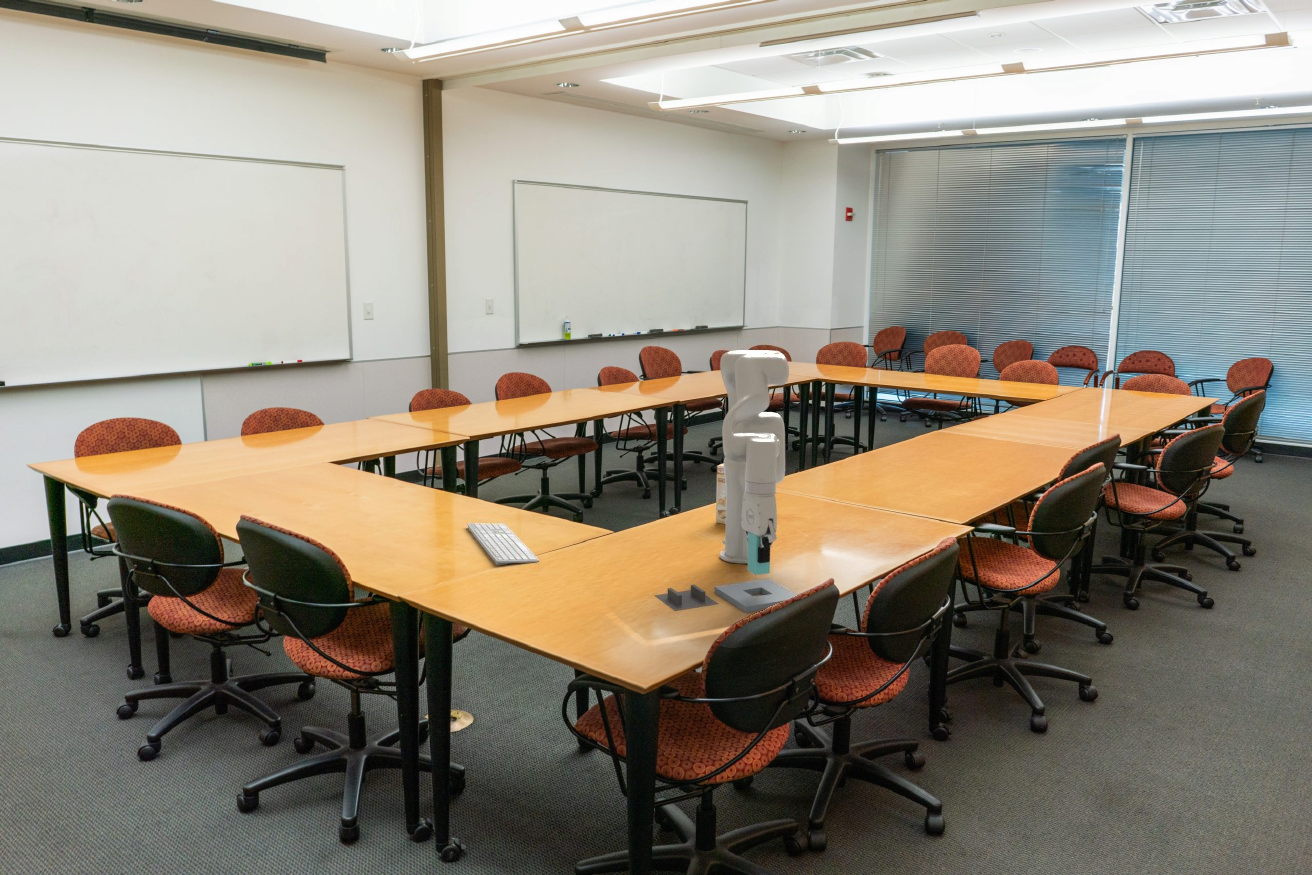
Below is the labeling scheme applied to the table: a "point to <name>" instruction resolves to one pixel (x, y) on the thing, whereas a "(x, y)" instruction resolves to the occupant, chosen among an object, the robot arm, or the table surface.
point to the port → (743, 593)
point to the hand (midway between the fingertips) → (758, 559)
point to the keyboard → (501, 543)
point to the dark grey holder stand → (686, 598)
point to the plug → (756, 556)
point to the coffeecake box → (721, 495)
